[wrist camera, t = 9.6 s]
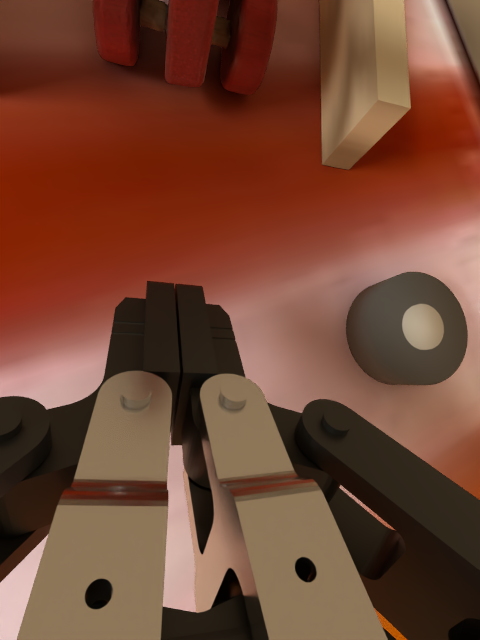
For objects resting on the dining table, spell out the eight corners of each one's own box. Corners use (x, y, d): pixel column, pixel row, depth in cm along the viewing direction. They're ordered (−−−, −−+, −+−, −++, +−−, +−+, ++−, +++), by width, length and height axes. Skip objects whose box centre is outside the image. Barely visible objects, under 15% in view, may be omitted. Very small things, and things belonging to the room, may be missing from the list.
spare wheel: (332, 297, 18) (358, 286, 16) (413, 272, 19) (447, 259, 17) (367, 399, 17) (399, 401, 15) (447, 365, 19) (486, 363, 17)
